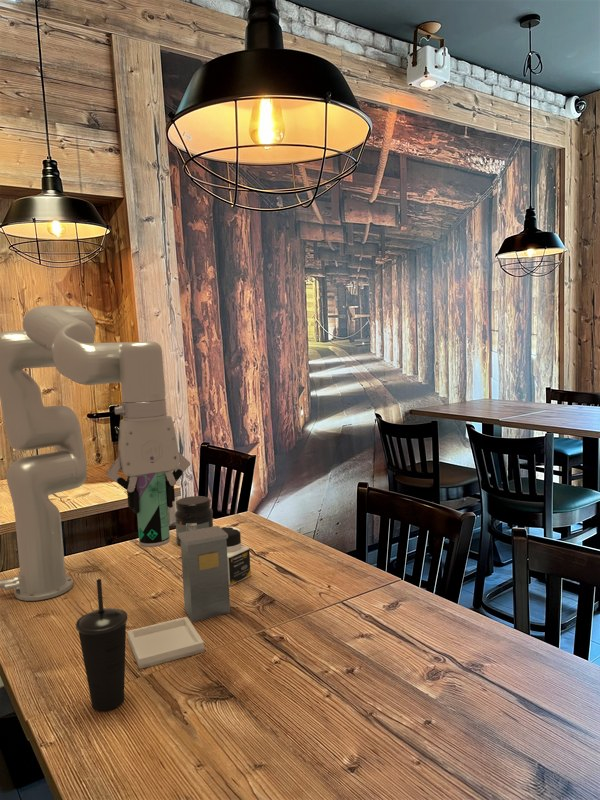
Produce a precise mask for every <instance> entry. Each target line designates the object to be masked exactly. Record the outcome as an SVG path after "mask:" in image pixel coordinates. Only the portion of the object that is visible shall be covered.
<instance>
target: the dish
mask: <svg viewBox="0 0 600 800" xmlns="http://www.w3.org/2000/svg"><path fill="white" fill-rule="evenodd" d="M126 631H127V634H126V635H127V641H128V643H129V646H130V649H131V651H132V654H133V656H134V659H135V661H136V664H137V667H138V669H139V670H141V669H145V668H149V667H154V666H156V665H160V664H164V663H168V662H172V661H174V660H175V661H176V660H179V659H183V658H186V657H189V656H194V655H197V654H202V653H205V642H204V640H203V639H202V637H201V636H200V634H199V632H198V631H197V629H196V628H195V627H194V625H193V622H192V621H191V619H190V618H189V616H183V617H180V618H176V619H172V620H167V621H163V622H159V623H154V624H149V625H147V626H142V627H137V628H135V629H129V630H126Z"/></svg>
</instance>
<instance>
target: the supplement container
mask: <svg viewBox="0 0 600 800" xmlns="http://www.w3.org/2000/svg"><path fill="white" fill-rule="evenodd" d="M175 501H176V502H175V509H176V511H175V513H174V517H175V533H176V534H175V535H176V537H175V539H176V542H177V544H178V545H180V546H181V540H180V538H179V537H178V533H180V532H186V531H191V530H197V529H202V528H208V527H214V523H213V522H214V521H213V520H214V519H213V517H214V516H213V514H214V512H213V508H211V499H210V498H209V497H208V496H205V495H204V496H203V495H202V496H201V495H194V496H192V495H191V496H185V497H181V498H180V499H177V500H175Z"/></svg>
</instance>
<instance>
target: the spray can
mask: <svg viewBox="0 0 600 800" xmlns="http://www.w3.org/2000/svg"><path fill="white" fill-rule="evenodd" d="M153 459H154V458H153V454H152V455H150V460H153ZM153 462H154V461H153ZM153 462H151V463H153ZM135 488H136V491H137V492H138V503H139V512H138V513H137V514H136V517H137V531H138V542H139V546H140V547H142V548H157V547H161V546H165V545H167V544H169V542H170V541H171V535H170V523H169V522H170V521H169V510H168V508H169V507H168V506H167V493H166V479H165V472H164V473H150V474H147V475H144V476H138V477H137V481H136V485H135Z"/></svg>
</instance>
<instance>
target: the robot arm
mask: <svg viewBox="0 0 600 800" xmlns="http://www.w3.org/2000/svg"><path fill="white" fill-rule="evenodd" d="M22 319H23V320H22V329H23V330H7V331H2V332H0V404H1V411H2V416H3V417H2V418H3V422H4V428H5V429H4V430H5V433H6V438H7V440H8V441H7V442H8V444H9V446H10V447H11V448H12V449H13V450H14V451H21V452H23V451H34V450H38V449H39V450H40V449H45V448H51V447H55V449H56V451H53V452H48V453H46V452H45V453H41V454H35V455H29V456H26V457H22V458H19V459H17V460H15V461H13V462H12V463H11V464H10V465H9V466H8V468H7V471H6V476H5V477H6V482H7V483H6V484H7V486H8V490H9V493H10V496H11V497H10V498H11V500H12V501H11V503H12V506H13V512H14V521H15V531H16V540H17V552H18V562H19V564H18V566H19V571H18V575H14V576H13V577H10V578H3V579H0V590H1V589H4V591H9V590H13V589H14V591H13V593H14V597H15V599H17V600H21V601H25V602H26V601H27V602H29V601H30V602H35V601H43V600H48V599H52V598H55V597H59V596H61V595H63V594H65V593H66V592H68V591H70V590H71V589H72V587H73V586H74V579H73V578H72V577H71V576H69V575H66V567H65V565H66V564H65V554H64V553H65V552H64V542H63V541H64V540H63V529H62V528H63V527H62V517H61V512H60V509H59V508H58V506H57V505H56V504H54V503H53V501H52V500H50V498H49V496H51V495H55V494H59V493H62V492H67V491H70V490H75V489H76V488H77V489H78V488H79V487H82V486H83V485H84V483H86V480H87V477H88V465H87V461H86V460H87V459H86V453H85V447H84V441H83V436H82V430H81V425H80V422H79V419H78V417H77V414H76V413H75V411H74V410H73V409H72V408H70V407H69V406H67V405H59V404H58V405H57V404H56V405H50V406H49V405H48V406H45V405H44V403H43V399H42V394H41V393H42V392H41V389H40V386H39V384H38V383H37V382H36V380H35V379H34V378H33V377H32V376H31V375H30V374H29V373H27V372H26V371H25V369H39V368H41V369H42V368H55V369H56V370H57V372H58V373H59V374H61V375H62V376H63V377H65V378H67V379H69V380H70V381H72V382H74V383H76V384H80V385H83V386H94V385H96V386H97V385H103V384H105V385H106V384H120V386H121V399H122V402H121V404H120V405H119V406H114V414H115V415H121V416H122V417H123V419H120V420H119V428H118V457H117V458H116V459H115V460H114V462H113V463H112V464H111V465H110V467H109V468H108V470H107V471H106V473H105V475H106V476H107V477H108V478H109V479H110V480H112V481H114V483H117V484H118V485H120V487H122V488H123V489H124V490H126V494H127V506H128V508H129V509H131V512H132V513H134V514H135V515H137V513H138V512H139V503H138V492H137V491H136V488H135V485H136V481H137V477H138V476H144V475H147V474H150V473H164V472H165V479H166V493H167V507H168V508H169V509H170V508H174V507H173V506H174V505H173V503H174V502H175V501H176V496H175V495H176V494H175V485H177V481H178V480H179V479H180V478H181V476H182V475H183V473H184V472H185V471H186V470H188V468H189V467H190V465H191V462H190V461H189V460H188V459H187V458H186V457H185V456H184V455H183V454H182V453H181V452H179V448H178V447H179V446H178V441H177V434H176V429H175V426H174V425H175V424H174V421H173V417H172V416H171V415H167V413H168V412H167V401H166V388H165V387H166V385H165V373H164V361H163V360H164V358H163V349H162V347H161V344H160V343H159V342H156V341H134V342H130V341H128V342H126V341H125V342H123V341H121V342H95V340H96V339H95V338H96V337H95V335H96V327H97V325H96V320H95V318H94V316H93V315H92V313H91V312H90V311H89V310H88V309H86V308H84V307H81V306H75V305H41V306H40V305H39V306H36V307H33V308H31V309H30V310H29V311H27V312H26V313H25V315H24V317H23V318H22ZM152 454H153V458H154V459H153V460H150V455H152ZM153 461H154V462H153ZM151 462H153V463H151ZM119 470H120V472H122V473H123V474H124V475H126V478H123V477H122V476H121V475H119V474H118V472H119Z"/></svg>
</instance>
